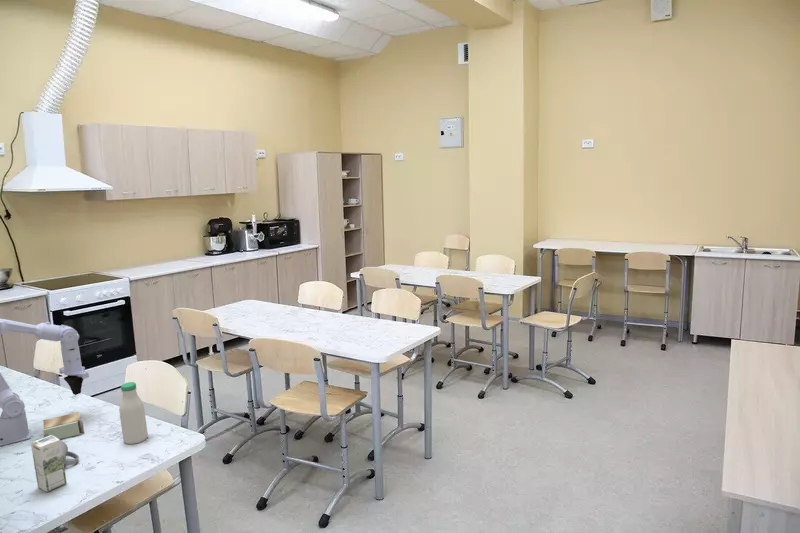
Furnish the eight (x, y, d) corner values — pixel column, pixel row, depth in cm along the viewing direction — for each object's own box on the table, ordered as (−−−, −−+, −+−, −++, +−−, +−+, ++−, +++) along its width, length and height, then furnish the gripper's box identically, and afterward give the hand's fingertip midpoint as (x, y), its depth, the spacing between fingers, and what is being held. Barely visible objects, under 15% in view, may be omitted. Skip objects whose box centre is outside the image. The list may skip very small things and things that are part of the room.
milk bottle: (152, 438, 199) (144, 383, 196) (129, 447, 194) (121, 390, 190) (142, 431, 205) (135, 378, 201) (119, 440, 199) (111, 385, 195)
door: (45, 443, 198) (43, 431, 197) (45, 441, 200) (43, 429, 199) (79, 435, 203) (77, 423, 203) (79, 433, 205) (77, 421, 204)
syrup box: (57, 478, 176) (50, 433, 174) (67, 483, 173) (60, 438, 170) (37, 487, 172) (29, 441, 169) (47, 493, 168) (39, 446, 166)
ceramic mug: (39, 476, 178) (35, 452, 177) (42, 464, 185) (38, 441, 184) (78, 467, 183) (75, 444, 181) (79, 456, 190) (76, 434, 188)
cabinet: (45, 443, 199) (43, 429, 198) (45, 433, 207) (43, 420, 206) (84, 433, 205) (82, 420, 204) (82, 424, 213) (80, 411, 212)
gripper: (94, 357, 213) (99, 392, 216) (70, 353, 220) (75, 386, 223) (75, 364, 207) (81, 400, 210) (51, 359, 214) (57, 393, 217)
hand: (77, 393), depth 216 cm, fingers closed
